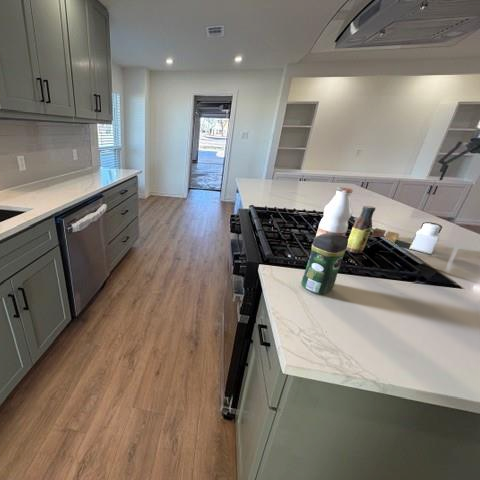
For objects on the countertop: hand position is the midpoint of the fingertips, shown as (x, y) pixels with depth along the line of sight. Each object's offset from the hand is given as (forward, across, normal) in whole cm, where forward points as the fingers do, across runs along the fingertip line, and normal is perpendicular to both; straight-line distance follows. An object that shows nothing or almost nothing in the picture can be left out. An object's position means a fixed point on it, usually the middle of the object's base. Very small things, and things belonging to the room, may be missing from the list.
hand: (462, 182), depth 110 cm
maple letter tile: (+28, -13, -17) cm, 35 cm away
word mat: (+29, -10, -17) cm, 35 cm away
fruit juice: (+29, -26, -60) cm, 71 cm away
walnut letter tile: (+28, -18, -17) cm, 38 cm away
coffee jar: (+29, -18, -88) cm, 94 cm away
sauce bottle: (+29, -20, -44) cm, 56 cm away
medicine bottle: (+28, -2, -17) cm, 33 cm away
